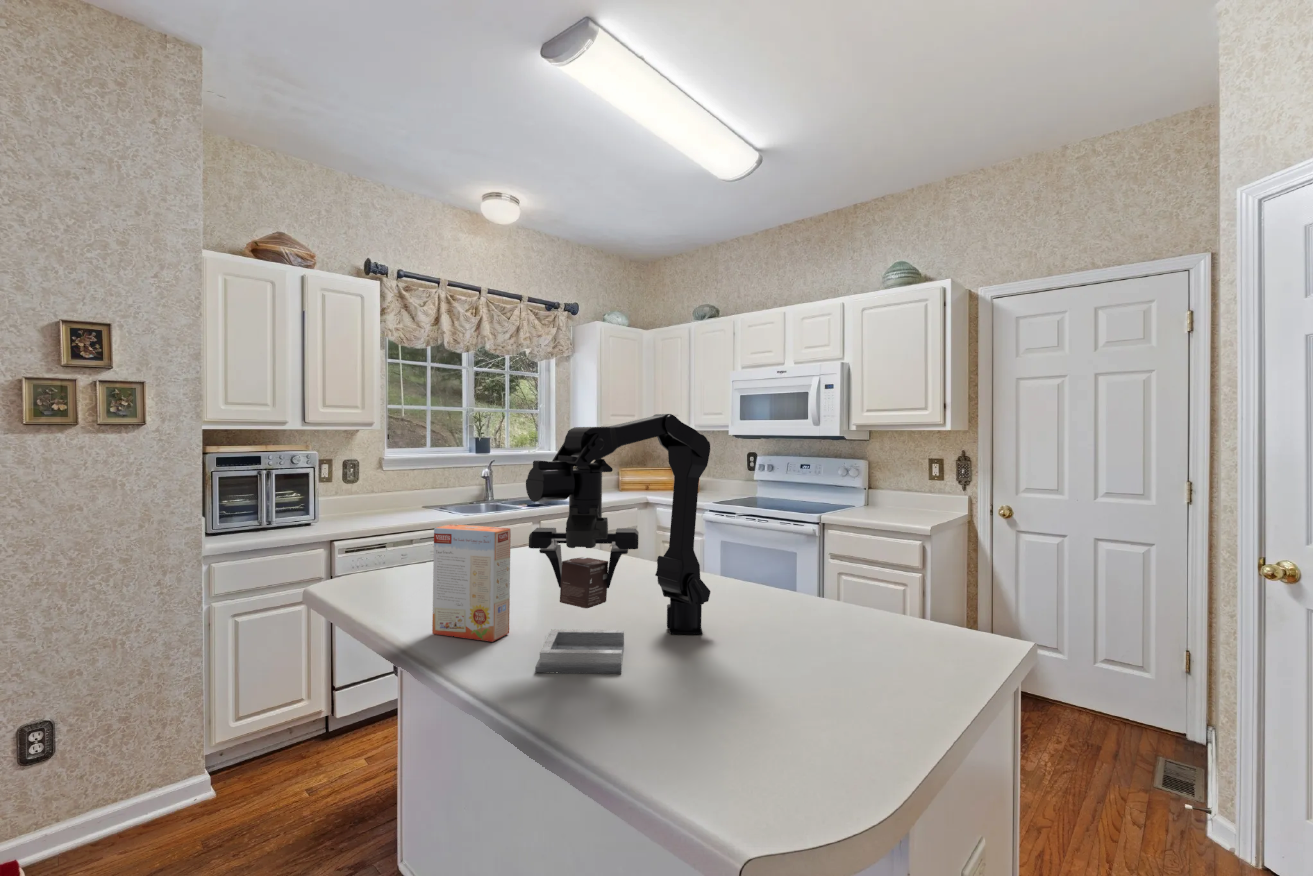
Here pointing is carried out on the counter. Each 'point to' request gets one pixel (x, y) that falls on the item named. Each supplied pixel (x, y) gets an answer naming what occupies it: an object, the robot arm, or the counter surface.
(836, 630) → the counter surface
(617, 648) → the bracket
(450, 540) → the cracker box
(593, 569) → the box
